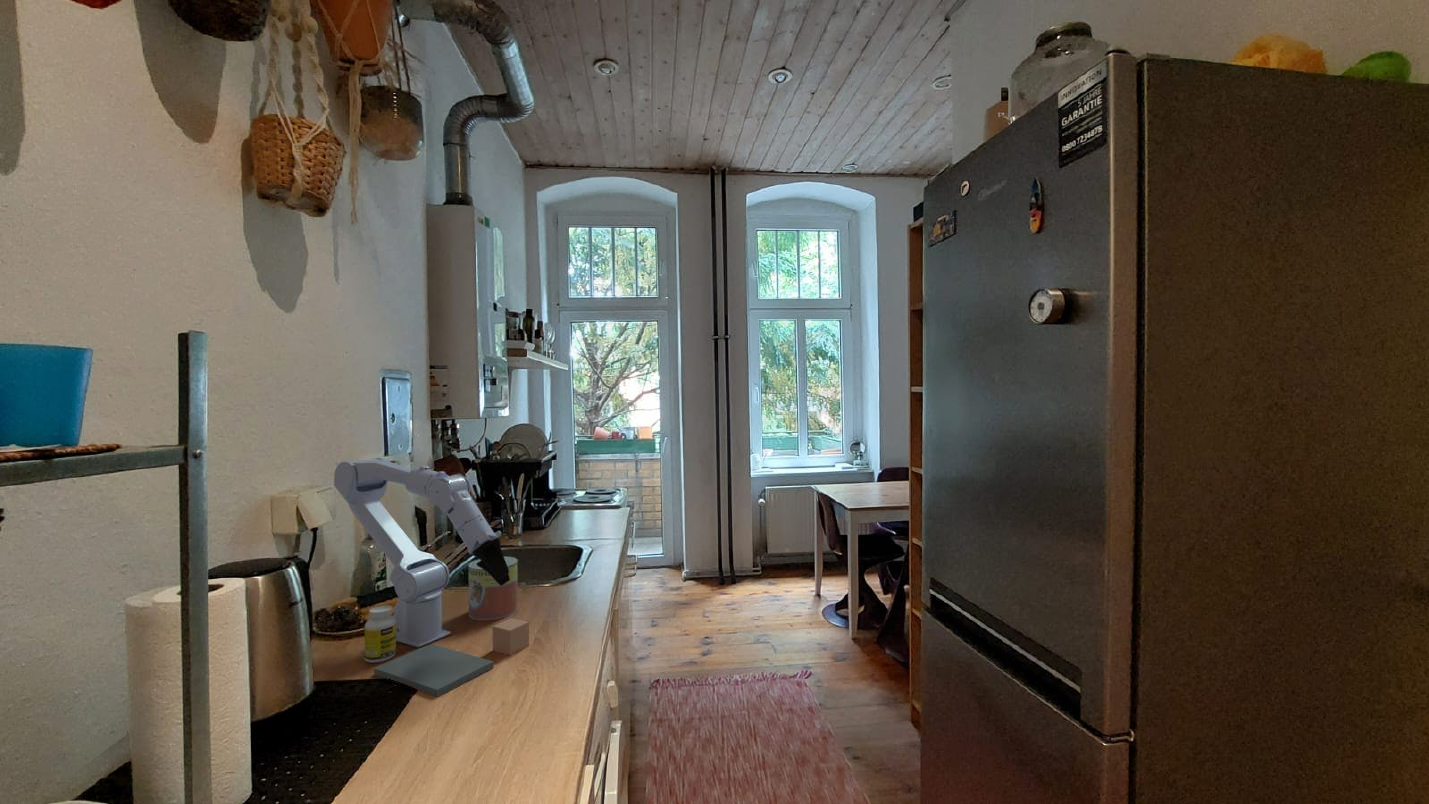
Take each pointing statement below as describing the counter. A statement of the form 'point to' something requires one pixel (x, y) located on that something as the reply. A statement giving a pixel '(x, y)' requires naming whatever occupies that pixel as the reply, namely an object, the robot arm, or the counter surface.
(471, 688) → the counter surface
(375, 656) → the supplement bottle
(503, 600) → the canned food
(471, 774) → the counter surface
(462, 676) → the slate board
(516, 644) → the terracotta cube
